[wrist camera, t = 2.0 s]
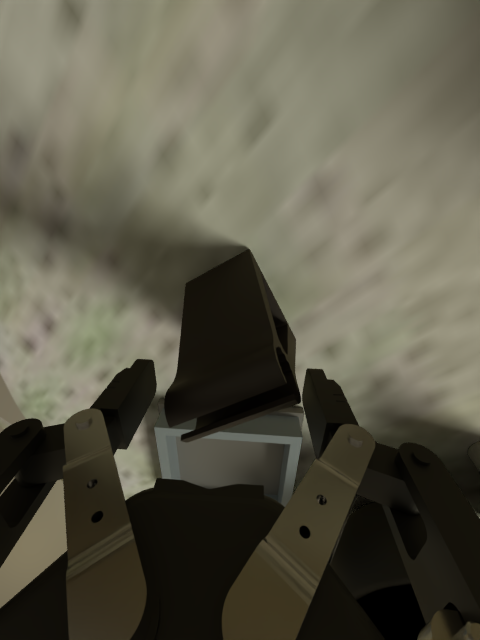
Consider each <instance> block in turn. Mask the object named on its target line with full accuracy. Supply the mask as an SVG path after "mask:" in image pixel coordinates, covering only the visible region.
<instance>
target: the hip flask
mask: <svg viewBox="0 0 480 640" xmlns="http://www.w3.org/2000/svg"><path fill="white" fill-rule="evenodd" d="M468 456H469V457H470V458H471V460H472V461H473V462H474V464H475V465H476V467H477V469H478V470H479V472H480V441H479V442H476V443H474V444H473V445H472V446H471V447H470V448H469V450H468Z"/></svg>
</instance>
